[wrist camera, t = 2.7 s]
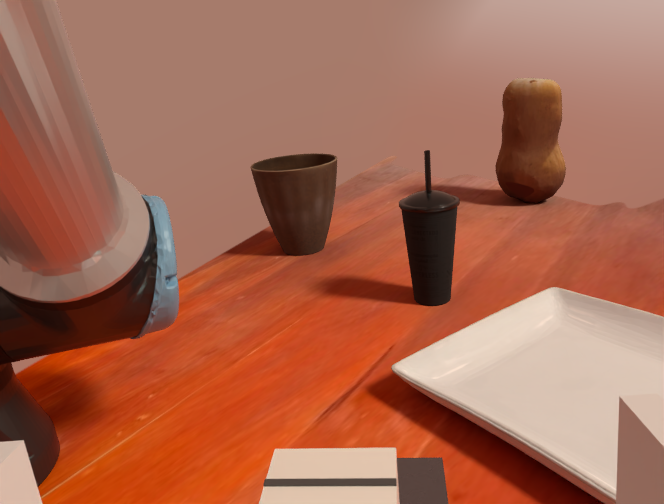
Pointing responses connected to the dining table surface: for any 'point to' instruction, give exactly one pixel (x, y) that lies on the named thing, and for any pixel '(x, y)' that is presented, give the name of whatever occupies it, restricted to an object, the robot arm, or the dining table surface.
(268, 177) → the plant pot
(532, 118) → the butternut squash
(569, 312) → the square plate
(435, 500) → the dark grey marked board
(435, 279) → the drinking cup
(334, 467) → the fader tab
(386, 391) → the dining table surface
